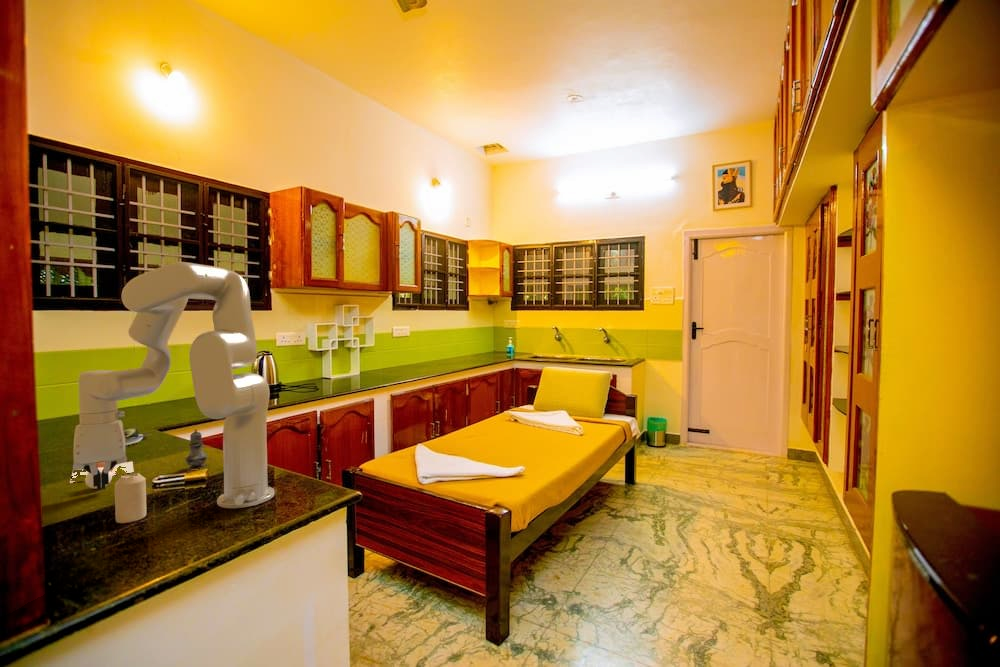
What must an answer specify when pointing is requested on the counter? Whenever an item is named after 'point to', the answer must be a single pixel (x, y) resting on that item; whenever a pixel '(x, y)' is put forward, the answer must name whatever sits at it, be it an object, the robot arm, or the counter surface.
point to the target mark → (127, 464)
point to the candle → (130, 498)
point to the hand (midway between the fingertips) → (101, 488)
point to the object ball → (103, 465)
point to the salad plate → (133, 436)
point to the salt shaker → (196, 452)
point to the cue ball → (90, 478)
